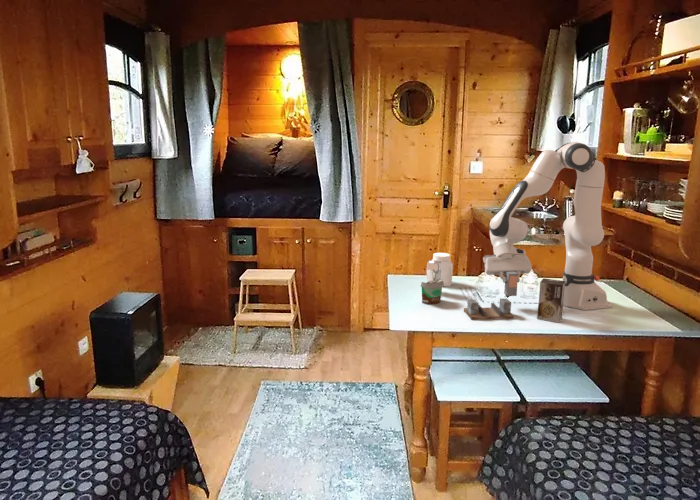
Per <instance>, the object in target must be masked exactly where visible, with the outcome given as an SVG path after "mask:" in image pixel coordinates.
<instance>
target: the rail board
mask: <svg viewBox="0 0 700 500" xmlns="http://www.w3.org/2000/svg"><path fill="white" fill-rule="evenodd" d="M511 308H512V301H511V300H510V299H509V298H499V306H497V305H496V304H495V303H494V302H491V304H490V307H482V306H481V305H480V304H479V302H478V301H477V299H475V298H468V299H467V305H466V307H464V308H463V312H464V313H465V314H466V315H467V316H468V318H469V319H470V320H472V321H476V320H485V321H486V320H514V319H515V315H513V314H512V312H511V311H512V310H511Z"/></svg>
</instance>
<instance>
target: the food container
mask: <svg viewBox="0 0 700 500" xmlns="http://www.w3.org/2000/svg"><path fill="white" fill-rule="evenodd" d="M420 287H421V303H422V304H424V305H425V304H426V305H438V304H440V303H441V298H442V292H443V291H442V290H443V287H445V286H444V282H443V279H441V278H438V280H435V281H429V282H428V281H427V282H425V281H421V284H420Z"/></svg>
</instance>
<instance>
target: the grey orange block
mask: <svg viewBox="0 0 700 500" xmlns="http://www.w3.org/2000/svg"><path fill="white" fill-rule="evenodd" d="M504 275H505V276H504V277H505V278H507V280H508V282H507V283H504V292H503V294H505V295H506V296H507V297H517V294H518V282H517V281H518V273H516V272H515V271H506V272H505V274H504Z"/></svg>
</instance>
